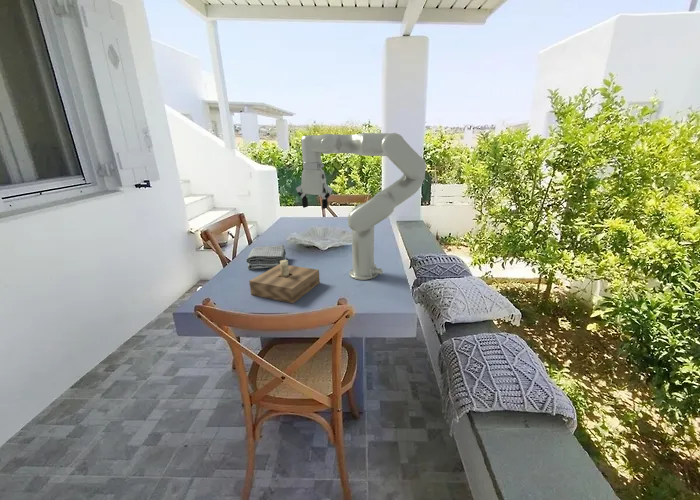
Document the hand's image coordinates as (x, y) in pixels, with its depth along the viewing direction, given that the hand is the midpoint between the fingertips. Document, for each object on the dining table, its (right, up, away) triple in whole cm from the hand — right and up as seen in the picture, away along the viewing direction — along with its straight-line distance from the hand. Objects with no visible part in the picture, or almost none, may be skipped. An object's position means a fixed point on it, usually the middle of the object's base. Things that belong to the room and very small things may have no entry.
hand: (315, 207), depth 139 cm
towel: (-26, -25, +23) cm, 43 cm away
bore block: (-11, -34, -6) cm, 36 cm away
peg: (-11, -33, -6) cm, 36 cm away
